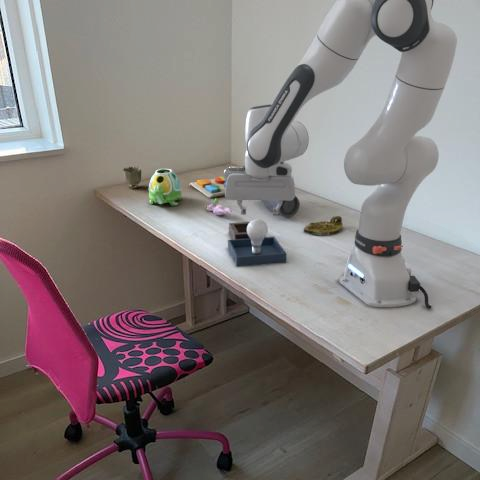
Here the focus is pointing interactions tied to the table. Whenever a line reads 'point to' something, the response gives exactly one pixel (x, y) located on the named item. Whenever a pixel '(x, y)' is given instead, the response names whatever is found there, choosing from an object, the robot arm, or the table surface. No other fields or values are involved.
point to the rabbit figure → (218, 208)
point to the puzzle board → (211, 186)
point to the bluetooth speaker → (284, 206)
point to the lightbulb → (257, 234)
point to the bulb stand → (238, 230)
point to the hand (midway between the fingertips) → (259, 214)
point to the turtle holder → (164, 187)
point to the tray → (246, 257)
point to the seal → (325, 227)
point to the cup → (132, 176)
